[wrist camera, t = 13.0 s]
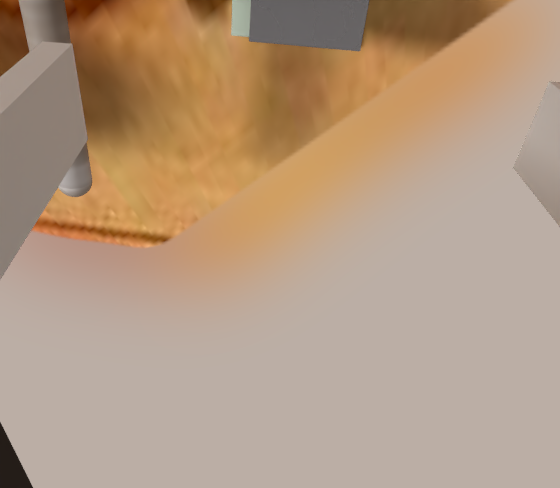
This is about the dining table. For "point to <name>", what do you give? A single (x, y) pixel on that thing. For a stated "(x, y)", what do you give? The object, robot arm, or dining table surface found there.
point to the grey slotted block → (309, 23)
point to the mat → (241, 17)
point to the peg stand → (54, 28)
